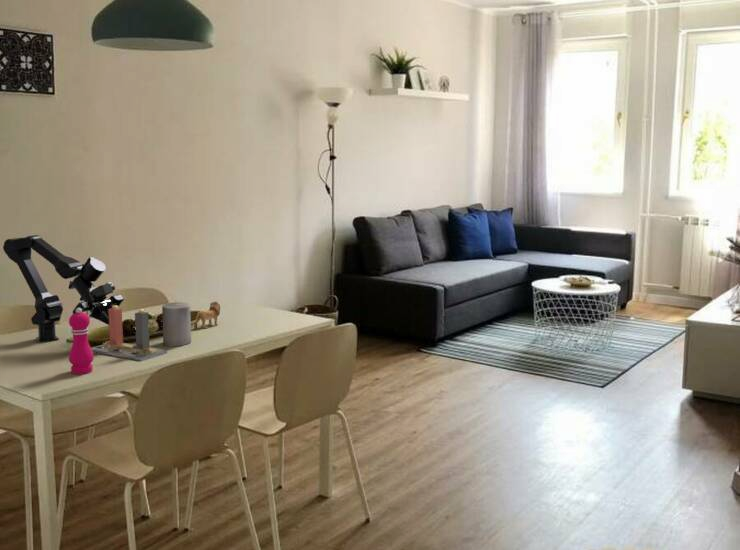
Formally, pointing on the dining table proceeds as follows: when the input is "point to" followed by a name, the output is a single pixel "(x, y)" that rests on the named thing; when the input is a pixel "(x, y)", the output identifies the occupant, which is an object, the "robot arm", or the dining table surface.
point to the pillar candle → (176, 324)
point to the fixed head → (141, 330)
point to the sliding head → (115, 326)
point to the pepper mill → (80, 344)
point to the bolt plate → (128, 351)
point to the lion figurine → (208, 315)
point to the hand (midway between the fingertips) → (112, 325)
